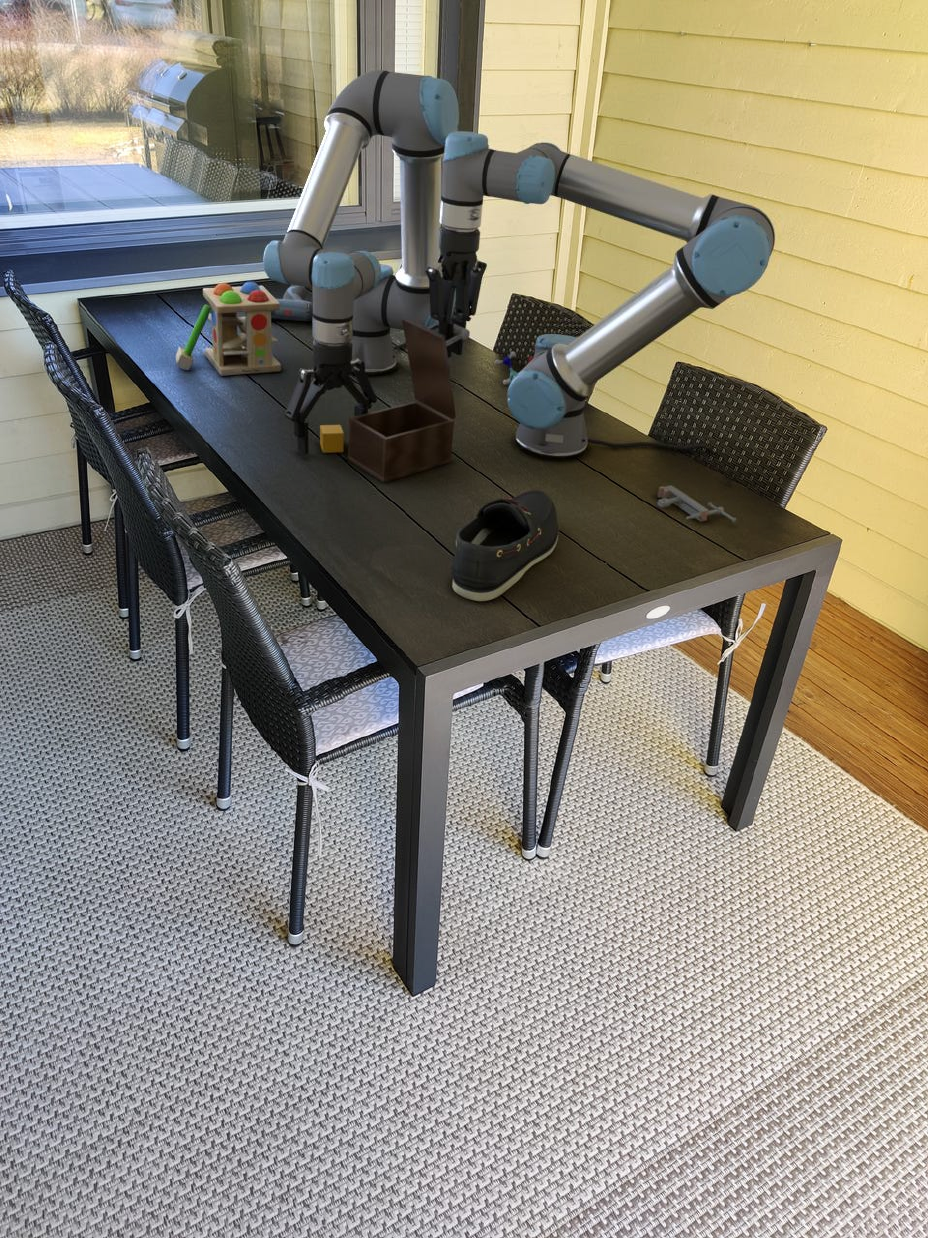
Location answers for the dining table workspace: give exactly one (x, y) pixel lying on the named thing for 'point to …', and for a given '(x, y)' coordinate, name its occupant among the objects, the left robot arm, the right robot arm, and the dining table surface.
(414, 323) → the lid
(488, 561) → the boat shoe
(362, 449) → the chest
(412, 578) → the dining table surface
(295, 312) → the power drill
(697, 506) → the clamp
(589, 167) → the right robot arm
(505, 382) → the molecular model
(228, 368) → the pounding bench toy
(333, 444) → the block
